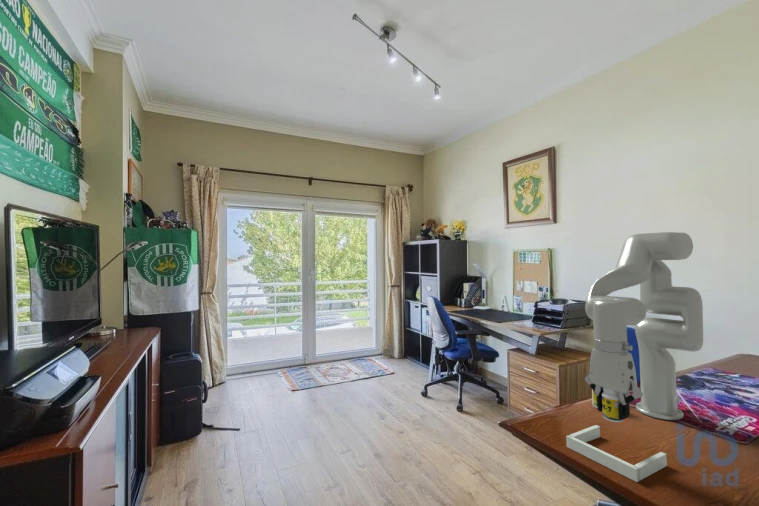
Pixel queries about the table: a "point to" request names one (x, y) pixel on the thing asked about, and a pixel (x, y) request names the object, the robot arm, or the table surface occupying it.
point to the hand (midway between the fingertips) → (612, 413)
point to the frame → (624, 468)
